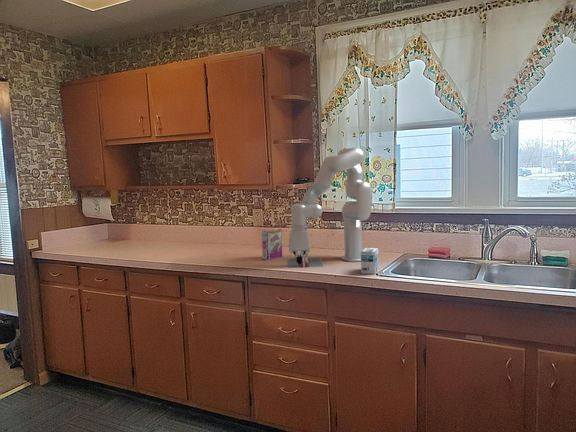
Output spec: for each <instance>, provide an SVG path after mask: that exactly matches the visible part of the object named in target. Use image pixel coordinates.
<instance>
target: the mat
mask: <svg viewBox="0 0 576 432" xmlns="http://www.w3.org/2000/svg"><path fill="white" fill-rule="evenodd" d="M286 260H287V267H288V269H296V268H297V269H298V268H307V267H306V264H305V267H303V265H302V263H301V264H299V265H298V263H297V259H296V257H295V258H287V259H286ZM307 260H308V262H309V267H308V268H319V267H320V268H321V267H325V266H324V264H323V262H322V260H321V258H320V257H308V259H307Z"/></svg>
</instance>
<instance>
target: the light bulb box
mask: <svg viewBox="0 0 576 432" xmlns="http://www.w3.org/2000/svg"><path fill="white" fill-rule="evenodd" d="M379 254H380V253H379V248H378V247H376V248H375V247H365V248H362V251H361V261H360V262H361V263H360V264H361V265H360V266H361V272H360V273H361V274H368V275H370V274H371V275H376V273H377V272H379V270H380V259H379V258H380V255H379Z"/></svg>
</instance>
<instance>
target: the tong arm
mask: <svg viewBox="0 0 576 432" xmlns="http://www.w3.org/2000/svg"><path fill="white" fill-rule="evenodd" d="M302 265H303V267H302V268H306V267H305V260H304V256H303V257H302Z"/></svg>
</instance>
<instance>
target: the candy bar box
mask: <svg viewBox="0 0 576 432" xmlns="http://www.w3.org/2000/svg"><path fill="white" fill-rule="evenodd" d="M282 234H283V231H282V229H279V228H272V229H265V230H262V231H261V249H262V252H261V254H262V260H264V261H268V260H273V259H277V258H282V257H283V235H282Z"/></svg>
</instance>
